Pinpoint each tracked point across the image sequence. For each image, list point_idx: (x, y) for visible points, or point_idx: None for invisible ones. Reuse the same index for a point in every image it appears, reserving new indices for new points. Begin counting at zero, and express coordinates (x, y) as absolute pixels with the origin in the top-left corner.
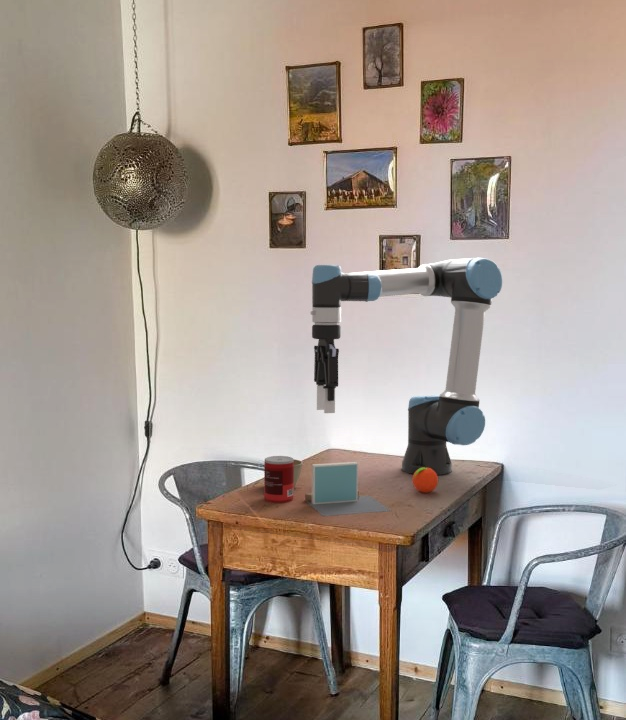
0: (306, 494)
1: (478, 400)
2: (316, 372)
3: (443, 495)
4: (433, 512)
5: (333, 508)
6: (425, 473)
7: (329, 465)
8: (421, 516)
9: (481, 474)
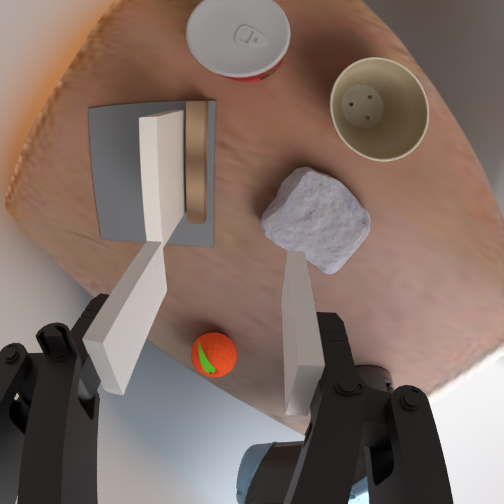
0: (193, 101)
1: None
2: (401, 472)
3: None
4: (96, 292)
5: (131, 141)
6: (195, 360)
7: (141, 165)
8: (77, 267)
9: (293, 424)
